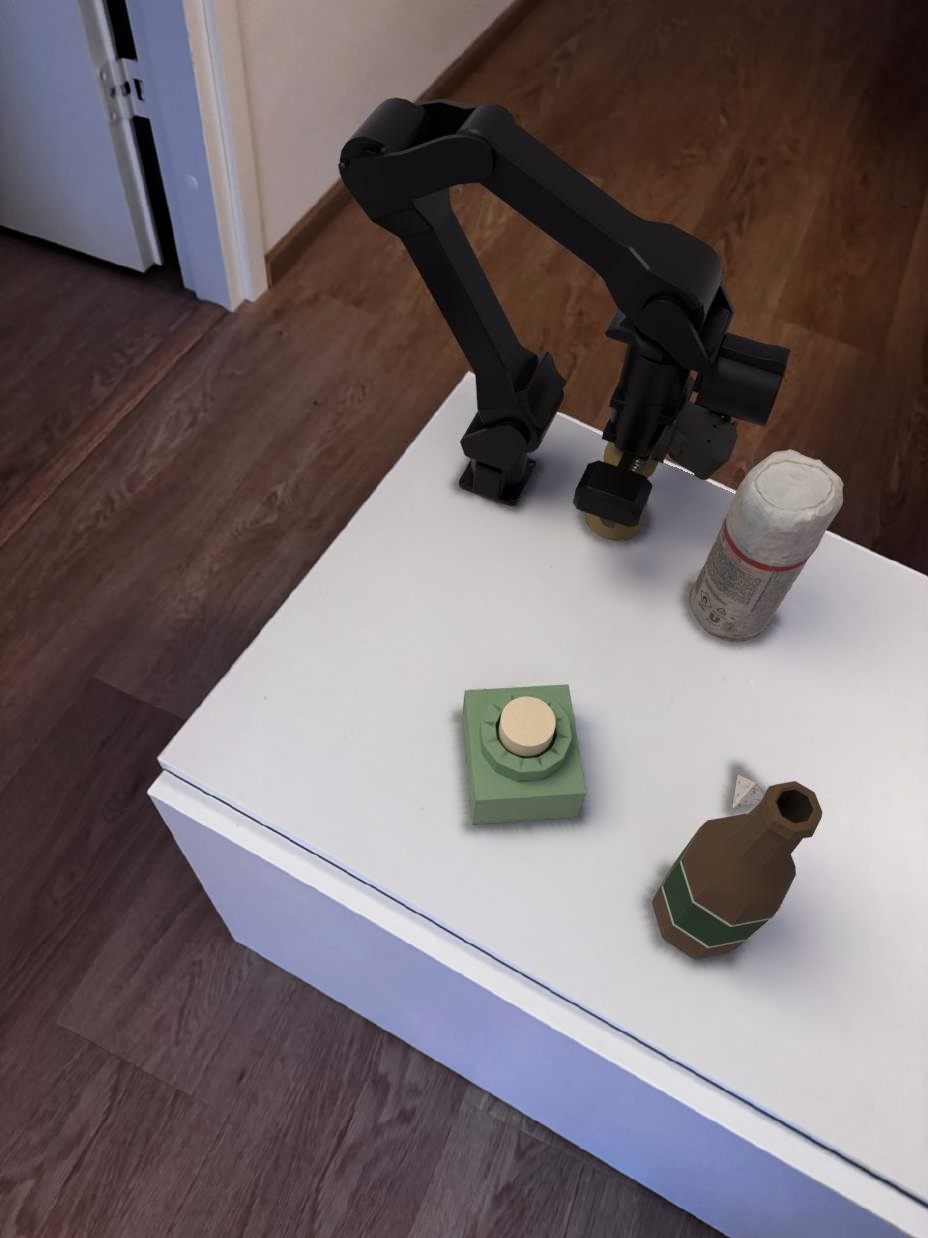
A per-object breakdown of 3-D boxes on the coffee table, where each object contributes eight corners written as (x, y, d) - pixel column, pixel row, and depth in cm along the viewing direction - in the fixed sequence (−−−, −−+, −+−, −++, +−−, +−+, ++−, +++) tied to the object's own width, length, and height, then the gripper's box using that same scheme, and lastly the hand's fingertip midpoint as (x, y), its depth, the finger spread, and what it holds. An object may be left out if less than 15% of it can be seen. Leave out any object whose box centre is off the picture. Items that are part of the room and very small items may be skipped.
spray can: (778, 648, 93) (860, 519, 76) (693, 644, 92) (755, 514, 76) (765, 575, 97) (840, 438, 80) (684, 571, 97) (741, 433, 80)
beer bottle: (742, 972, 77) (861, 881, 56) (644, 951, 77) (727, 853, 57) (746, 877, 81) (859, 760, 60) (654, 857, 81) (734, 734, 61)
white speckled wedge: (753, 779, 87) (758, 756, 85) (767, 802, 85) (773, 779, 83) (717, 786, 86) (721, 763, 84) (731, 810, 84) (736, 787, 82)
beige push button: (496, 709, 80) (497, 697, 78) (548, 706, 80) (551, 694, 79) (501, 758, 78) (504, 747, 76) (556, 755, 78) (559, 744, 76)
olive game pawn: (622, 550, 98) (645, 479, 89) (573, 520, 100) (590, 447, 90) (653, 513, 101) (678, 441, 91) (605, 485, 102) (624, 411, 93)
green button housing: (461, 718, 87) (465, 678, 81) (560, 712, 88) (572, 672, 82) (471, 825, 82) (476, 791, 76) (576, 817, 83) (590, 783, 76)
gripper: (714, 487, 78) (671, 595, 91) (767, 342, 87) (722, 458, 101) (583, 443, 80) (560, 555, 93) (649, 306, 89) (620, 425, 103)
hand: (621, 497), depth 97 cm, fingers closed on olive game pawn, 8 cm apart
